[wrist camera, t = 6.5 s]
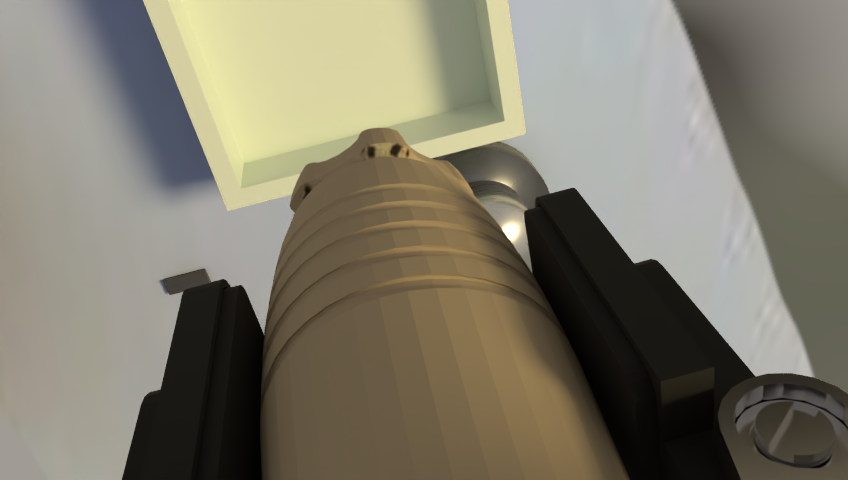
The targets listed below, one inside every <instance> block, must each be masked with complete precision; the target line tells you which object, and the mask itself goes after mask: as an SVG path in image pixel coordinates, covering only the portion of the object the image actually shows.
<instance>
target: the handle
mask: <svg viewBox="0 0 848 480" xmlns="http://www.w3.org/2000/svg"><path fill="white" fill-rule="evenodd" d="M290 207H291V209H292V210H293V211H294V213H295V214H294V217H293V219H292V222H291V224H290V227H289V229H288V232H287V234H286V236H285V239H284V241H283V244H282V248H281V251H280V255H279V259H278V262H277V266H276V271H275V275H274V280H273V285H272V290H271V296H270V301H269V309H268V313H267V319H266V325H265V336H264V344H263V360H262V382H261V414H260V448H261V472H262V480H630V478H629V476H628V474H627V471H626V469H625V467H624V464H623V462H622V460H621V457H620V455H619V453H618V450H617V448H616V446H615V443H614V441H613V439H612V436H611V434H610V432H609V429H608V427H607V425H606V422H605V420H604V418H603V415H602V413H601V411H600V408H599V406H598V404H597V401H596V399H595V397H594V394H593V392H592V389H591V387H590V385H589V382H588V380H587V378H586V375H585V373H584V371H583V368H582V366H581V364H580V361H579V359H578V357H577V354H576V353H575V351H574V349H573V348H572V346H571V344H570V341H569V339H568V337H567V335H566V333H565V332H564V330H563V328H562V326H561V324H560V322H559V320H558V318H557V317H556V315H555V313H554V312H553V309H552V307H551V305H550V304H549V302H548V300H547V298H546V296H545V295H544V293H543V291H542V289H541V288H540V286H539V284H538V282H537V281H536V279H535V277H534V276H533V274H532V272H531V271H530V269H529V267H528V266H527V264H526V263H525V261H524V260H523V258H522V257H521V255H520V254H519V253H518V252H517V250H516V248H515V247H514V245H513V244H512V242H511V241H510V239H509V238H508V236H507V235H506V234H505V232H504V231H503V230H502V228H501V227H500V225H499V224H498V223H497V222H496V220H495V219H494V218H493V217H492V216H491V214H490V213H489V212H488V211H487V210H486V208H485V207H484V206H483V205H482V204H481V203H480V202H479V200H478V199H477V198H476V197H475V196H474V194H473V191H472V189H471V188H470V186H469V184H468V183H467V181H466V180H465V179H464V177H463V176H462V175H461V173H460V172H459V171H458V170H457V169H456V168H455V167H454V166H453V165H452V164H451V163H450V162H448V161H445V160H434V159H431V158H429V157H427V156H424V155H422V154H420V153H418V152H417V151H415V150H414V149H412V148H411V147H410V146H409V145H408V144H406V142H405V140H404V139H403V137H402V136H401V135H400V134H399V132H398V131H396V130H393V129H390V128H380V127H379V128H371V129H367V130H364V131H362V132H361V133H360V135H359V137H358V139H357V140H356V141H355V142H354V143H353V144H352V145H351V146H350V147H349V148H347V149H346V150H345V151H343V152H342V153H340V154H339V155H337V156H335V157H332V158H330V159H328V160H326V161H323V162H319V163H318V162H312V163H309V164H307V165H306V166H305V167H304V169H303V170H302V172H301V174H300V176H299V178H298V180H297V182H296V185H295V187H294V190H293V192H292V197H291V202H290Z"/></svg>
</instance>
